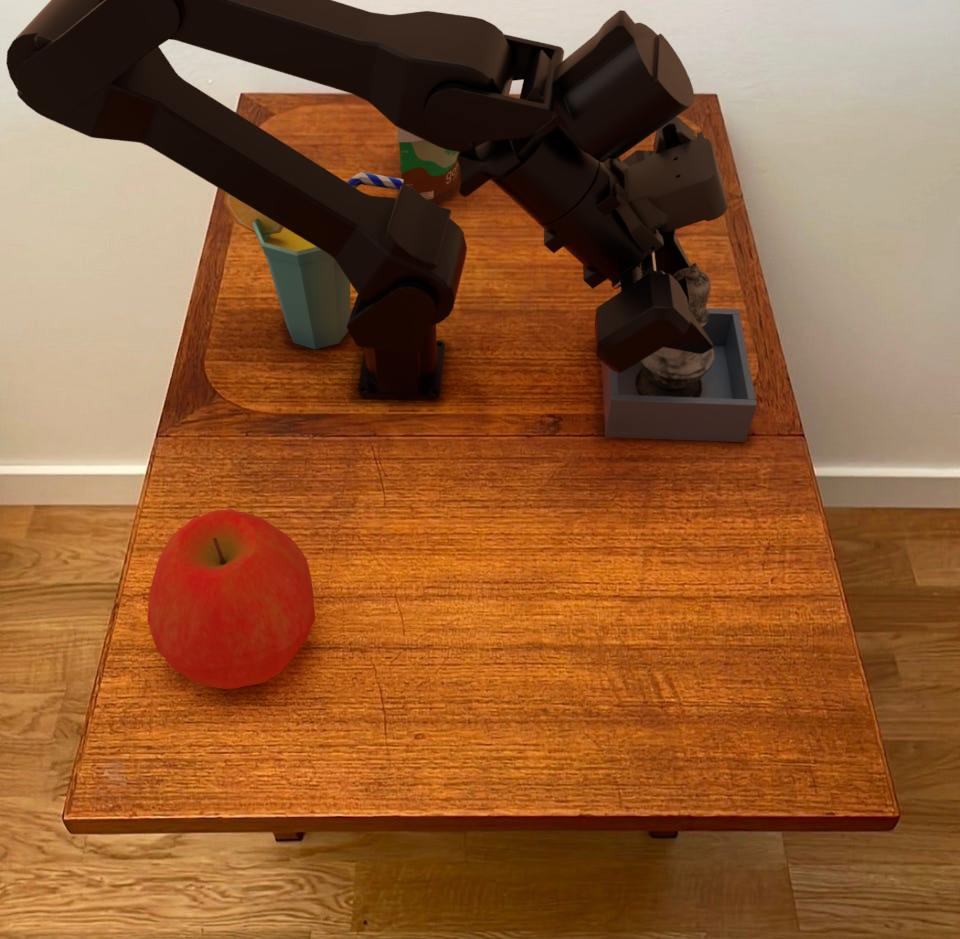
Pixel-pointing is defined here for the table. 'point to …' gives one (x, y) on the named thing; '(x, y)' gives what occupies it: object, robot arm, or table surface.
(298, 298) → the cup
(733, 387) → the grey open tray box
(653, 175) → the robot arm
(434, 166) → the food container
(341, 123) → the table surface
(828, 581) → the table surface
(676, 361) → the grey stone upright piece
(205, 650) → the apple
